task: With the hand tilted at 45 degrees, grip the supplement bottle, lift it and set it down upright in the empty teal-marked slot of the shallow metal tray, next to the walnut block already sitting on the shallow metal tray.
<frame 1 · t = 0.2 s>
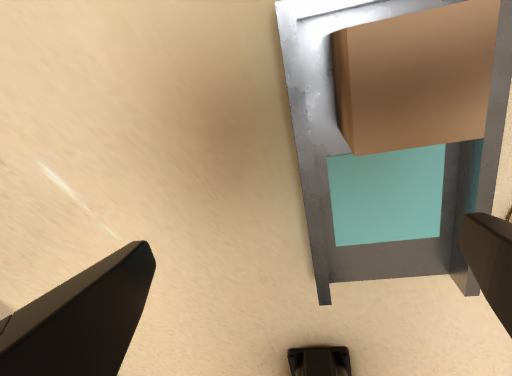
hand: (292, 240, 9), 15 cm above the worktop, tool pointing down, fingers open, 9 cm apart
walnut block: (382, 74, 19), point 1 cm above the worktop, touching shallow metal tray
shallow metal tray: (380, 156, 22), on the worktop
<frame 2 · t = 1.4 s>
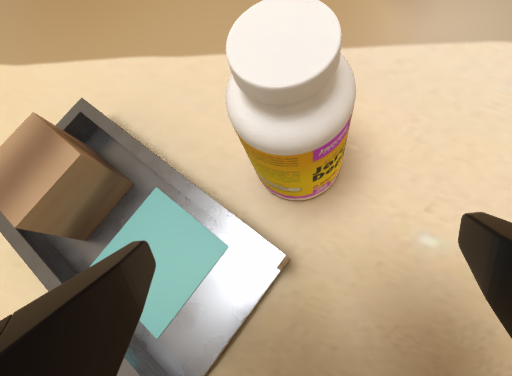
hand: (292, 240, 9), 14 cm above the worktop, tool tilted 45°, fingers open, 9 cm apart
walnut block: (88, 191, 25), point 1 cm above the worktop, touching shallow metal tray
shallow metal tray: (139, 235, 24), on the worktop
supplement bottle: (298, 163, 24), on the worktop
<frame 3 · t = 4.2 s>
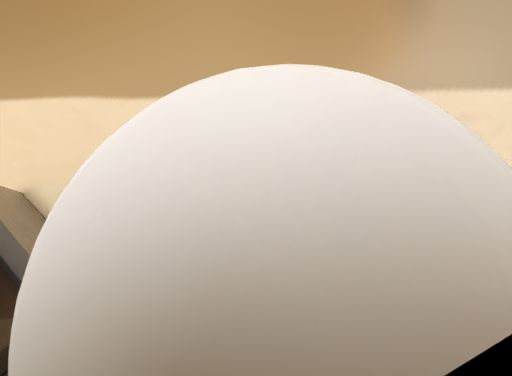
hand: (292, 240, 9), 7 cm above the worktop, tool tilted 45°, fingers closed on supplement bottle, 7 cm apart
supplement bottle: (305, 289, 14), on the worktop, touching gripper
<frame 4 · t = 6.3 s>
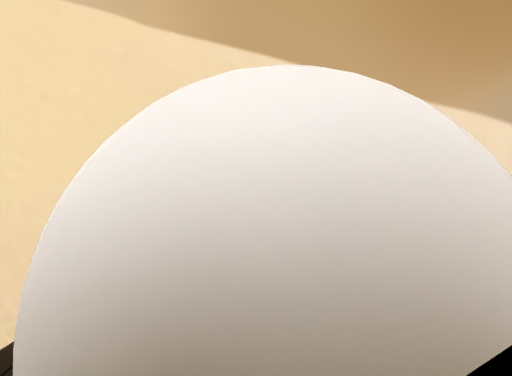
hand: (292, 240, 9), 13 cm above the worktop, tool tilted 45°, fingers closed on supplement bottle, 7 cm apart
supplement bottle: (308, 287, 15), point 6 cm above the worktop, touching gripper
when the fingers open (8 cm above the worktop, at t = 8.4 s): supplement bottle stays where it is, resting on shallow metal tray.
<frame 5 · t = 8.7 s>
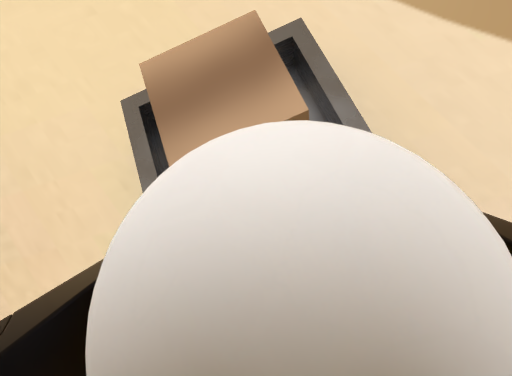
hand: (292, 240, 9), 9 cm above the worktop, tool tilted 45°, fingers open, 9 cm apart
walnut block: (246, 145, 18), point 1 cm above the worktop, touching shallow metal tray
shallow metal tray: (285, 237, 17), on the worktop
supplement bottle: (308, 292, 15), point 1 cm above the worktop, touching shallow metal tray
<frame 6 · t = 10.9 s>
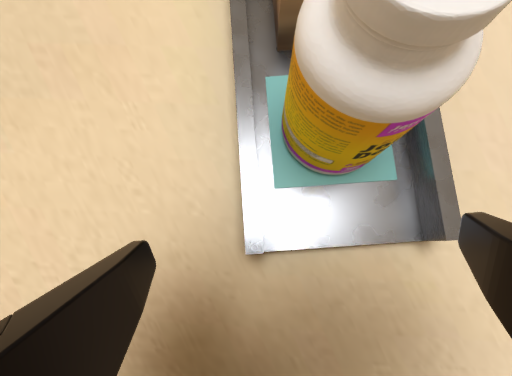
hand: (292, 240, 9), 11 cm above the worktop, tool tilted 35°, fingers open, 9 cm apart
walnut block: (314, 11, 22), point 1 cm above the worktop, touching shallow metal tray
shallow metal tray: (320, 93, 22), on the worktop
supplement bottle: (329, 130, 20), point 1 cm above the worktop, touching shallow metal tray
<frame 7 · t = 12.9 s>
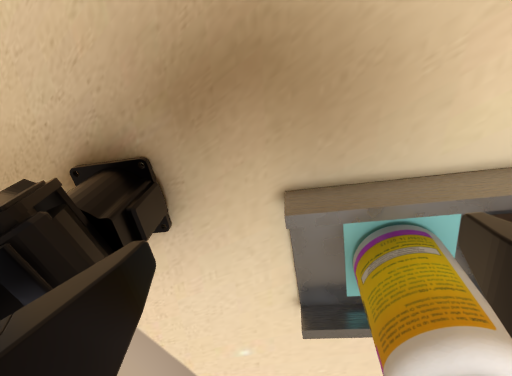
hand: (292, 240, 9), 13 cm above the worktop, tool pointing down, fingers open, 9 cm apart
shallow metal tray: (434, 244, 23), on the worktop
supplement bottle: (394, 255, 23), point 1 cm above the worktop, touching shallow metal tray
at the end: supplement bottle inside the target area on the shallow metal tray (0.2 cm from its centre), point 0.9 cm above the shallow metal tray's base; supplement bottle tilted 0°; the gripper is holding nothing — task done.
